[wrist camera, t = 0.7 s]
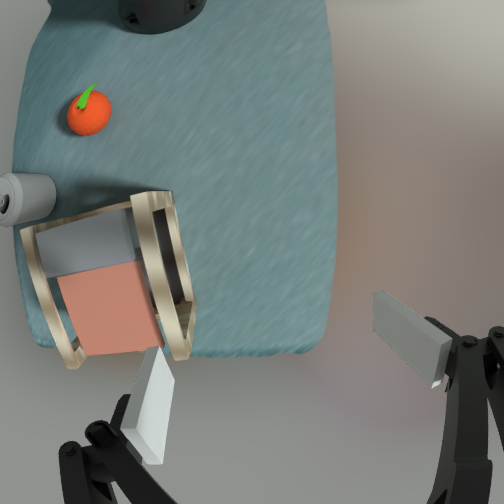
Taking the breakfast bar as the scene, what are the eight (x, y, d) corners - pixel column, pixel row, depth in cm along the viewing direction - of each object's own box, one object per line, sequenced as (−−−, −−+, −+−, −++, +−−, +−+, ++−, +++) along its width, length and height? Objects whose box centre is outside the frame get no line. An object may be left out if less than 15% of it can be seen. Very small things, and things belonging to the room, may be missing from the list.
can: (46, 227, 37) (3, 239, 25) (22, 203, 35) (-22, 209, 24) (65, 188, 36) (22, 190, 25) (39, 165, 35) (-4, 162, 23)
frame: (74, 216, 38) (18, 230, 23) (172, 191, 39) (147, 191, 24) (103, 320, 42) (67, 369, 27) (197, 305, 43) (190, 358, 29)
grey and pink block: (51, 229, 28) (29, 235, 23) (142, 204, 29) (128, 206, 24) (87, 344, 31) (74, 364, 27) (175, 334, 32) (169, 356, 28)
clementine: (91, 89, 33) (73, 75, 26) (126, 95, 35) (111, 80, 28) (73, 134, 35) (51, 127, 28) (107, 142, 36) (88, 135, 29)
